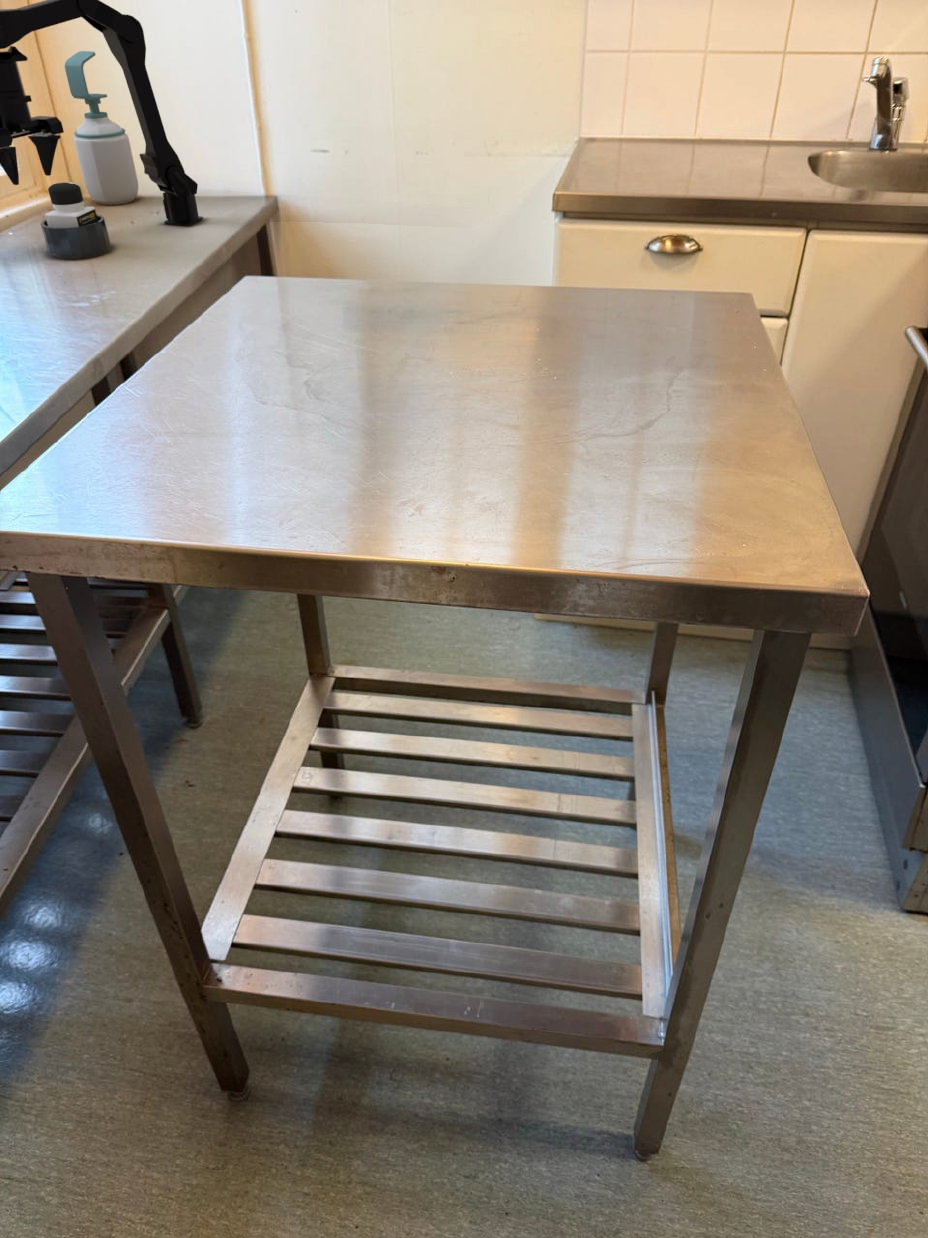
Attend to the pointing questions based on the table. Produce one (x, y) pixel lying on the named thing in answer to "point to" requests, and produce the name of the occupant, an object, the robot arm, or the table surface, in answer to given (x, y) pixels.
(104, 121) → the soap bottle
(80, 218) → the medicine bottle
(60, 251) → the dark grey round bowl
